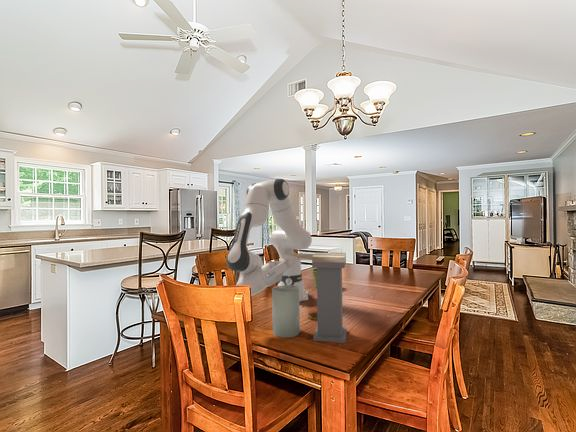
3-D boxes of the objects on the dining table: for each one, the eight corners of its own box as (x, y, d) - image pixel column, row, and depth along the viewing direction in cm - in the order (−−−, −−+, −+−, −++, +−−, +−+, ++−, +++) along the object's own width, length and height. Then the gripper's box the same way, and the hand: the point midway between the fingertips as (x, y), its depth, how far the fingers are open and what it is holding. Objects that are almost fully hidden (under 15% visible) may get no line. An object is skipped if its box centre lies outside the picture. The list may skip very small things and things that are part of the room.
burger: (306, 320, 141) (306, 310, 141) (310, 313, 150) (310, 304, 150) (328, 322, 139) (328, 311, 139) (330, 315, 148) (330, 305, 148)
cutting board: (288, 256, 133) (288, 251, 133) (345, 257, 128) (345, 252, 127) (281, 261, 121) (281, 256, 121) (344, 262, 116) (344, 257, 116)
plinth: (317, 328, 131) (316, 257, 130) (346, 330, 128) (345, 257, 128) (313, 340, 119) (312, 262, 119) (345, 343, 116) (344, 262, 116)
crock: (276, 326, 134) (276, 284, 134) (302, 328, 132) (301, 285, 132) (269, 336, 124) (268, 291, 123) (296, 338, 121) (296, 292, 121)
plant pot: (309, 285, 204) (309, 268, 204) (327, 284, 207) (327, 267, 206) (314, 290, 193) (314, 272, 193) (333, 289, 195) (332, 271, 195)
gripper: (260, 270, 119) (290, 253, 116) (274, 261, 139) (301, 246, 136) (268, 285, 118) (299, 268, 115) (282, 274, 138) (308, 259, 135)
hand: (300, 256), depth 126 cm, fingers open, 8 cm apart
